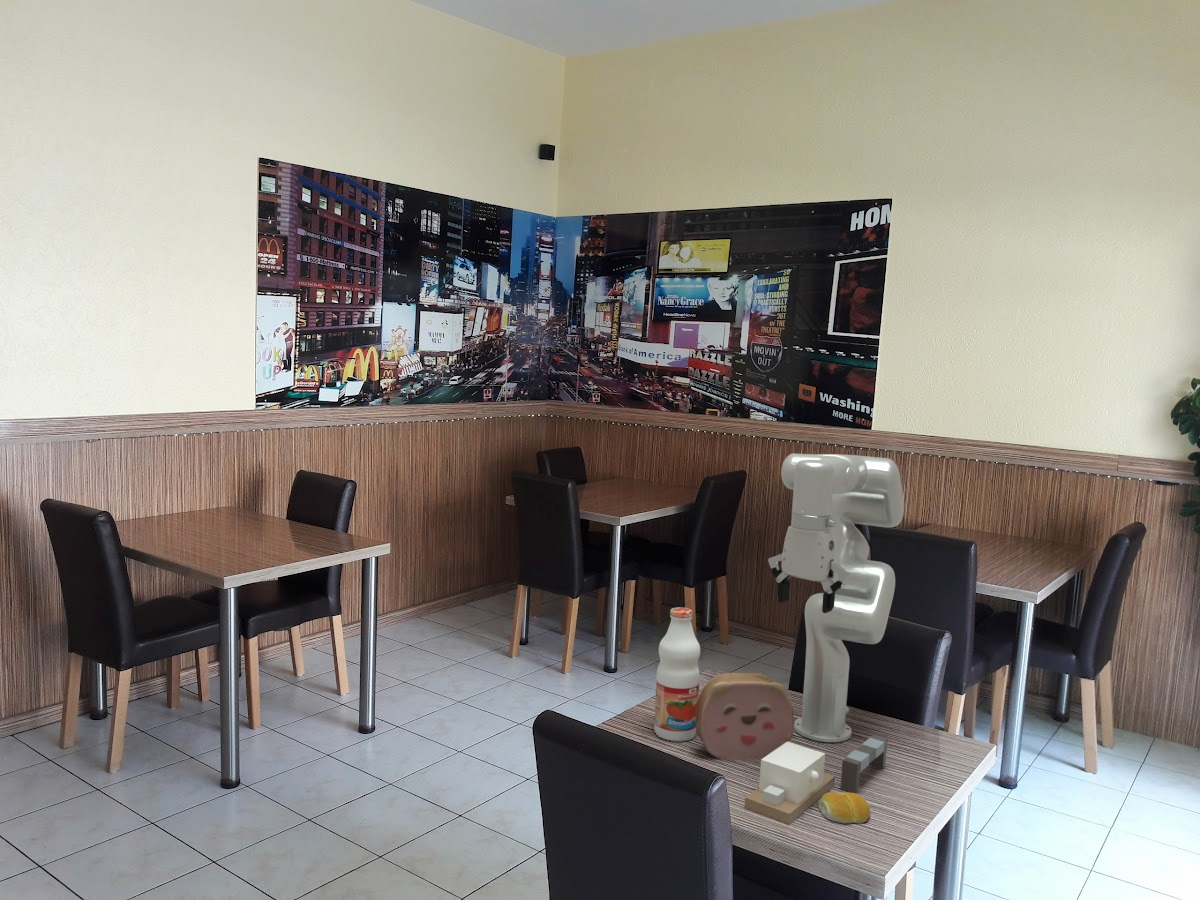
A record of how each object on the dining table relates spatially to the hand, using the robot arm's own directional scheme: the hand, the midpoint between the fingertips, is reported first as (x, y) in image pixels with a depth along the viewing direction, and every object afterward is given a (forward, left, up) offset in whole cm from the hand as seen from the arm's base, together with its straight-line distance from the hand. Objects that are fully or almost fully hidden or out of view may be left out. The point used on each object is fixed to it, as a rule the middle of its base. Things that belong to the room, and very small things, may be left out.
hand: (805, 606), depth 186 cm
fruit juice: (+2, -28, -34) cm, 44 cm away
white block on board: (+11, +5, -34) cm, 36 cm away
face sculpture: (+1, -12, -34) cm, 36 cm away
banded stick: (-6, +12, -34) cm, 37 cm away
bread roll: (+11, +15, -35) cm, 39 cm away
